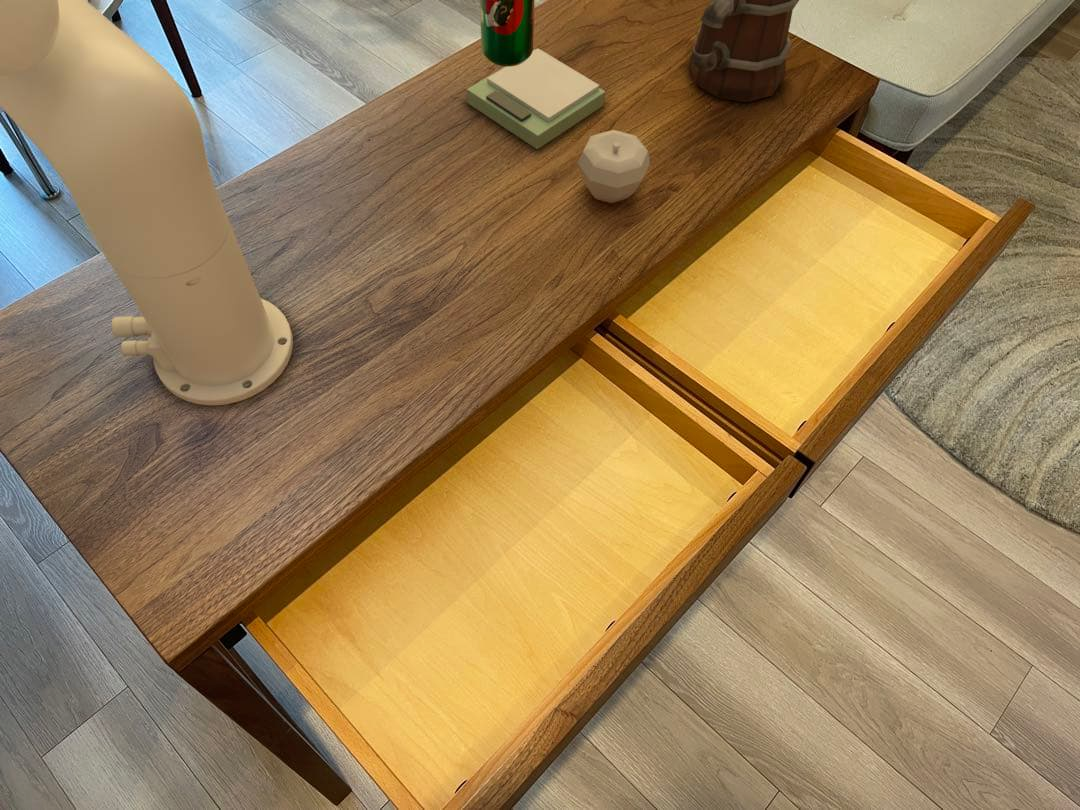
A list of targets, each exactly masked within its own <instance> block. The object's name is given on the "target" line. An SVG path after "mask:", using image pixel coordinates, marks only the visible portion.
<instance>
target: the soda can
mask: <svg viewBox="0 0 1080 810" xmlns="http://www.w3.org/2000/svg"><path fill="white" fill-rule="evenodd" d="M535 2H536V1H535V0H479V10H480V11H479V13H480V15H479V16H480V47H481V53H482V54H483V55H484V57H485V58H486V59H487V60H488V61H489V62H491V63H493V64H494V65H497V66H501V67H505V66H506V67H509V66H516V65H519V64H522V63H523V62H525V61H526V60H527V59H528V58H529V57H530V56H531V54H532V52H533V50H534V33H535V32H534V31H535Z"/></svg>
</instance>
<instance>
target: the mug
mask: <svg viewBox="0 0 1080 810" xmlns="http://www.w3.org/2000/svg"><path fill="white" fill-rule="evenodd" d="M799 1H800V0H711V1H710V2H709V4H708V5H707V7H706V9H705V10H704V11H703V12H704V13H702V16H701V17H700V22H701V26H700V27H699V28H698V30H697V32H696V38H697V40H696V43H694V45H693V46H692V47H691V55H690V60H689V64H688V68H689V71H690V74H691V77H692V78H693V82H694V84H695V86H697V87H699V88H701V89H702V90H703V91H706V92H708V93H709V94H711V95H712V96H714V97H715V98H717V99H722V100H727V101H734V102H735V101H736V102H743V103H750V102H754V101H757V100H761V99H764V98H767V97H771V96H773V95H774V93H775V92H776V91H777V89H778V87H779V85H780V84H781V82H782V80H783V77H784V75H785V71H786V69H787V68H786V67H787V66H786V64H787V63H786V57H787V56H788V54H789V52H790V51H791V49H792V47H793V42H792V40H791V39H790V36H789V32H790V31H789V30H790V27H791V21H792V15H793V11H794V9H795V7H796V6H797V5H798V3H799Z"/></svg>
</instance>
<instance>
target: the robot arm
mask: <svg viewBox="0 0 1080 810" xmlns="http://www.w3.org/2000/svg"><path fill="white" fill-rule="evenodd" d="M0 108H1V109H2V110H3V111H4V112H5V114H6V115H8V116H9V118H11V119H12V121H13V122H14V124H15V125H16V126H17V127H18V128H19V129H20V131H21V132H22V133H24V135H25V136H26V137H27V138H28V139H29V140H30V142H32V144H33V145H35V147H36V148H37V149H38V150H39V151H40V152H41V154H43V156H44V157H45V159H46V160H47V161H48V163H49V164H50V165H51V166H52V168H53V169H54V171H55V172H56V173H57V175H58V176H59V177H60V179H61V181H62V182H63V183H64V185H65V187H66V189H67V190H68V192H69V194H70V195H71V198H72V199H73V202H74V203H75V206H76V207H77V210H78V212H79V214H80V215H81V216H80V217H81V218H82V220H83V221H84V223H85V225H86V227H87V229H88V231H89V233H90V234H91V236H92V237H93V239H94V241H95V243H96V244H97V246H98V247H99V249H100V250H101V252H102V254H103V255H104V257H105V259H106V261H108V263H109V264H110V265H111V267H112V269H113V270H114V272H115V273H116V275H117V277H118V279H119V280H120V281H121V283H122V285H123V286H124V288H125V290H126V292H127V293H128V295H129V296H130V298H131V299H132V301H133V303H134V305H135V306H136V307H137V310H138V311H139V312H140V314H141V316H135V315H131V316H130V315H129V316H127V315H126V316H114V317H113V318H112V320H111V331H112V334H113V336H114V337H115V338H118V339H119V338H137V337H141V336H149V337H148V339H147V340H139V339H138V340H137V339H136V340H123V341H122V342H121V344H120V349H121V353H122V355H123V356H124V357H130V356H140V355H149V356H150V357H152V358H153V366H154V371H155V372H156V374H157V376H158V378H159V380H160V381H161V382H162V384H163V385H164V387H165V388H166V389H167V390H168V392H171V394H173V395H174V396H175V397H178V398H180V399H181V400H183V401H186V402H187V403H188V402H189V403H192V404H195V405H203V406H223V405H229V404H235V403H239V402H241V401H244V400H248V399H249V398H251V397H253V396H255V395H257V394H259V393H261V392H262V391H264V390H265V389H267V388H268V387H270V386H271V385H272V384H273V383H274V382H275V381H277V379H278V378H279V377H280V376H281V375H282V374H283V372H284V370H285V369H286V367H287V366H288V364H289V361H290V360H291V357H292V354H293V348H294V338H293V332H292V329H291V325H290V323H289V321H288V320H287V318H286V315H285V314H284V313H283V312H282V311H281V310H280V309H279V307H277V306H276V305H274V304H273V303H272V302H270V301H268V300H266V299H264V298H261V296H260V293H259V291H258V289H257V286H256V283H255V282H254V279H253V276H252V274H251V271H250V269H249V267H248V264H247V261H246V259H245V256H244V254H243V252H242V248H241V247H240V244H239V241H238V239H237V237H236V234H235V232H234V229H233V227H232V223H231V221H230V219H229V217H228V215H227V212H226V211H225V208H224V205H223V202H222V200H221V197H220V196H219V192H218V190H217V187H216V184H215V181H214V179H213V176H212V172H211V169H210V165H209V162H208V158H207V152H206V146H205V141H204V137H203V131H202V127H201V123H200V120H199V118H198V115H197V111H196V110H195V108H194V106H193V104H192V102H191V100H190V98H189V97H188V96H187V94H186V92H185V91H184V89H183V88H182V87H181V85H180V84H179V83H178V82H177V80H176V79H175V78H174V77H173V76H172V75H171V74H170V72H169V71H168V70H167V69H166V68H165V67H164V66H163V65H162V64H161V63H160V62H159V61H157V59H156V58H155V57H153V56H152V55H151V54H150V53H149V52H147V51H146V49H144V48H143V47H142V46H141V45H140V44H138V43H137V42H136V41H135V40H134V39H133V38H131V36H129V35H128V34H127V33H126V32H125V31H123V30H122V29H121V28H119V27H118V26H116V24H114V23H113V22H112V21H110V20H109V18H108V17H106V16H105V15H104V14H103V13H101V12H100V11H99V10H98V9H97V8H96V7H95V6H93V5H92V4H91V3H90V2H89V1H88V0H0Z"/></svg>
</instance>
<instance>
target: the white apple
mask: <svg viewBox="0 0 1080 810" xmlns="http://www.w3.org/2000/svg"><path fill="white" fill-rule="evenodd" d="M650 163H651V160H650V154H649V150H648V149H647V148H646V147H645V145H644V144H643V143H642V141H641V140H640V139H639V138H638V137H637V136H636V135H634V134H631V133H627V132H623V131H619V130H616V129H610V130H608V131H603V132H600V133H597V134H593V135H590V137H589V139H588V141H587V143H586V145H585V147H584V148H583V150H582V153H581V155H580V157H579V159H578V162H577V166H578V170H579V172H580V178H581V180H582V181H583V183H584V184H585V186H586V187H587V189H588V190H589V192H590V193H591V195H592V196H593V198H594V199H595V200H598V201H601V202H605V203H609V204H613V203H617V202H620V201H623V200H626V199H628V198H630V197H631V196H632V195H634V194H635V193H636V191H637V190H638V188H639V186H640V185H641V183H642V181H643V180H644V177H645V175H646V173H647V170H648V168H649V166H650Z"/></svg>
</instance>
